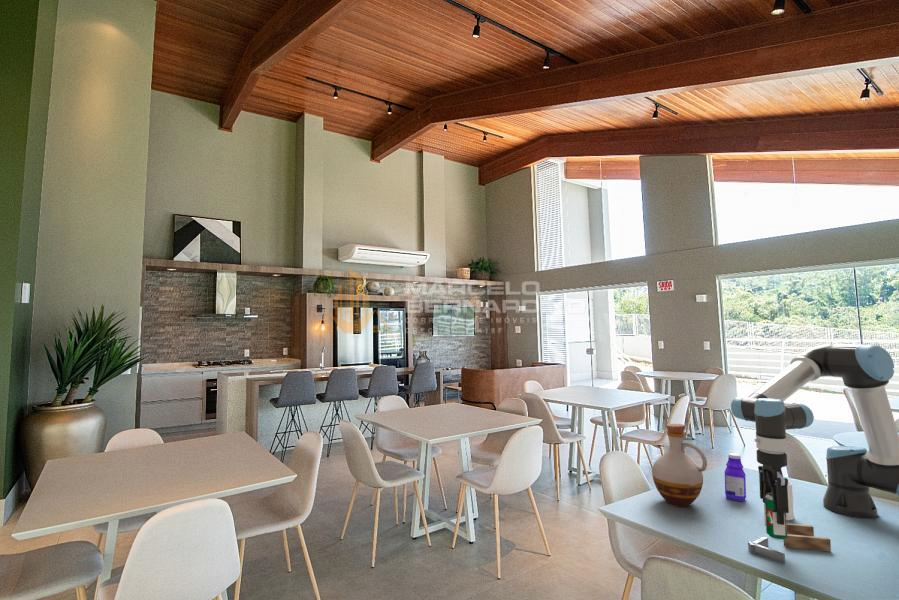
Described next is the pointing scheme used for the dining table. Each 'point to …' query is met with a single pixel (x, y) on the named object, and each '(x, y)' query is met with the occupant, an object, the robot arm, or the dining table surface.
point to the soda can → (769, 518)
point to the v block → (765, 550)
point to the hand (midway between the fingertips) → (774, 530)
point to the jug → (678, 470)
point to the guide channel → (805, 538)
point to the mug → (790, 502)
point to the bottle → (735, 478)
